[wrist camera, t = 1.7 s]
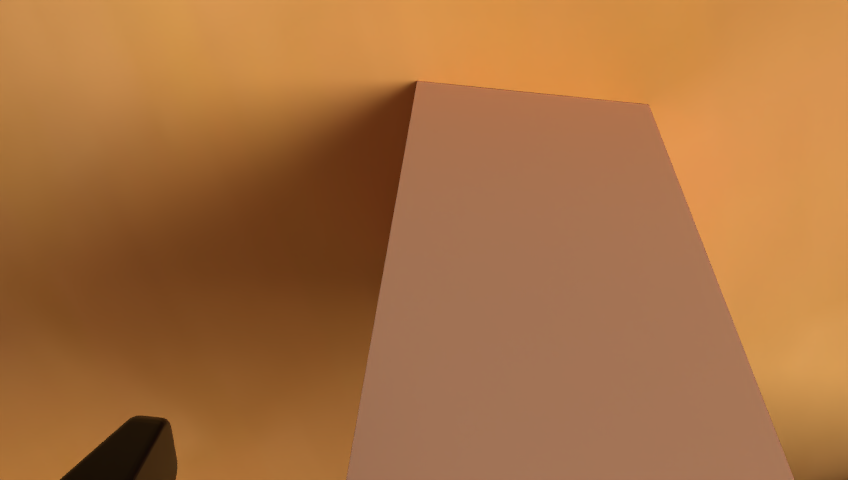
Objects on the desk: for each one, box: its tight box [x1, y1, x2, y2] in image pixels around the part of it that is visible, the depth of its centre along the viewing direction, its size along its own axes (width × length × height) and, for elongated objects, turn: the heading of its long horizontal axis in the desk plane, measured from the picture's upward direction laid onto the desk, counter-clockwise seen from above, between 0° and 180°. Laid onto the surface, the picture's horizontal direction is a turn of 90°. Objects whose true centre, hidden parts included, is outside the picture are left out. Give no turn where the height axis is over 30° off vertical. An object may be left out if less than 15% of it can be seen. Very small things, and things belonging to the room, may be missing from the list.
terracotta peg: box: [346, 81, 794, 480], centre depth 11 cm, size 4×4×9 cm
